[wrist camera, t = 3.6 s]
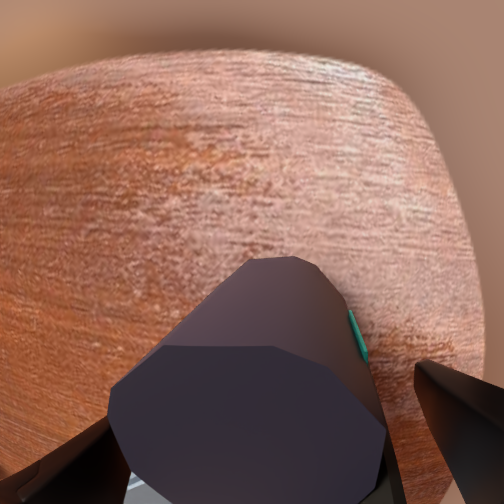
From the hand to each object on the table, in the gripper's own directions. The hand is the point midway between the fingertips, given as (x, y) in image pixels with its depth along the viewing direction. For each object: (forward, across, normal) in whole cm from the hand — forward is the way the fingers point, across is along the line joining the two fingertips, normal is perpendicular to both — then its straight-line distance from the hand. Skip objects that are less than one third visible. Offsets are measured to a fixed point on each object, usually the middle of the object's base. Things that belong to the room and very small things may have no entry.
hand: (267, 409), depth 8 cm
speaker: (+5, 0, 0) cm, 5 cm away
